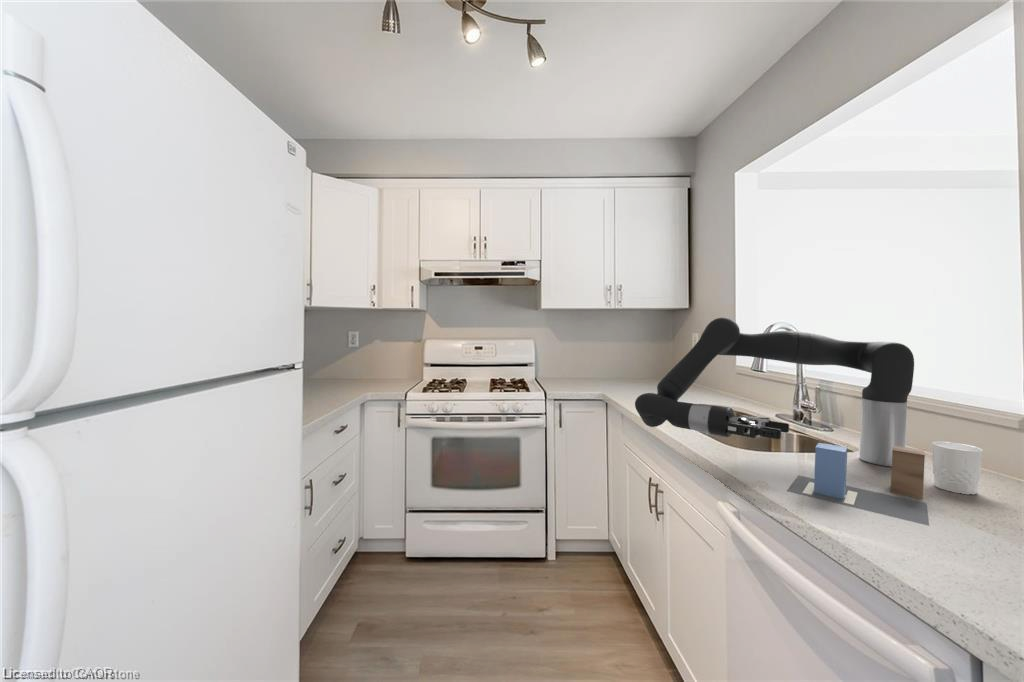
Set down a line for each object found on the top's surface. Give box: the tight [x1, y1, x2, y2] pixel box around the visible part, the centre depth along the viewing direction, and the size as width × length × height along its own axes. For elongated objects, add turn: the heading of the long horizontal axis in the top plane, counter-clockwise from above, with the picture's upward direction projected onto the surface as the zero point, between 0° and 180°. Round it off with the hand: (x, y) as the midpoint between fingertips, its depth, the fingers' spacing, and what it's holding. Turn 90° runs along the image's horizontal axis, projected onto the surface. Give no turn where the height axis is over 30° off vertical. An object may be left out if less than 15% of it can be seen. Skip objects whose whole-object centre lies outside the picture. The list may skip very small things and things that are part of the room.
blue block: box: [813, 442, 848, 499], centre depth 89 cm, size 5×5×10 cm
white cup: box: [931, 440, 984, 496], centre depth 94 cm, size 8×8×10 cm
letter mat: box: [786, 475, 930, 526], centre depth 87 cm, size 14×22×1 cm, turn 46°
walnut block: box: [890, 446, 926, 499], centre depth 90 cm, size 5×5×10 cm
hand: (785, 431), depth 95 cm, fingers open, 8 cm apart
